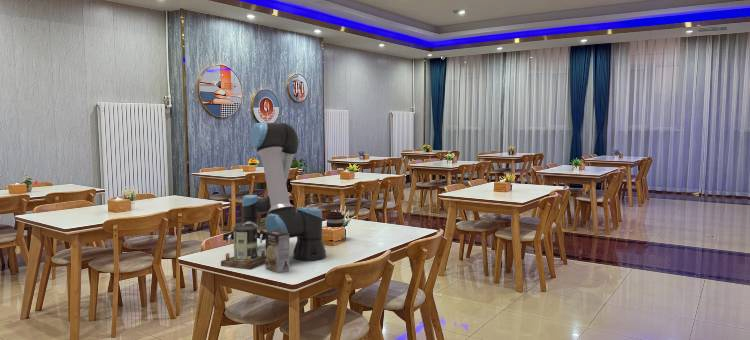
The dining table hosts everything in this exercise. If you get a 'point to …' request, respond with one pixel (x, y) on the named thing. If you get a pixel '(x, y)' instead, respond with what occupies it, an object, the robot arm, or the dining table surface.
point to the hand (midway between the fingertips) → (244, 240)
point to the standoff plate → (245, 265)
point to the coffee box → (277, 251)
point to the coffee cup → (334, 219)
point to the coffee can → (245, 243)
